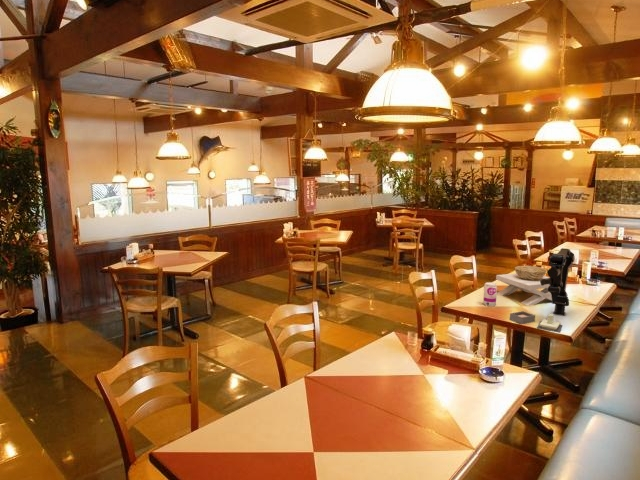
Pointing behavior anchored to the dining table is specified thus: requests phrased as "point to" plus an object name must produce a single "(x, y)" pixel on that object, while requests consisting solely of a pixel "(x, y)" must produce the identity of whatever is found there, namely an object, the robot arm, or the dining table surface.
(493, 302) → the supplement can
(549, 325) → the lid
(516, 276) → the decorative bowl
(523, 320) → the storage box
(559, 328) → the rubber mat
